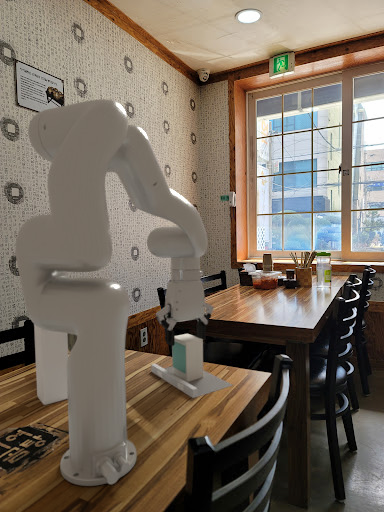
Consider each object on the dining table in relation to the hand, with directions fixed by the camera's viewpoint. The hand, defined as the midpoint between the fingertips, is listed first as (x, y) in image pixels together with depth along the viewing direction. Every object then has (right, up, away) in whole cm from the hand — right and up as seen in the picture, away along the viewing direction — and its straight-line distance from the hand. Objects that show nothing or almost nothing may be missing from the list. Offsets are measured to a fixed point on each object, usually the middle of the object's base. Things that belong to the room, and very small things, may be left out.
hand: (186, 341), depth 96 cm
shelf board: (+1, -11, -1) cm, 11 cm away
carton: (0, -9, +1) cm, 9 cm away
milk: (-32, -12, -7) cm, 35 cm away
